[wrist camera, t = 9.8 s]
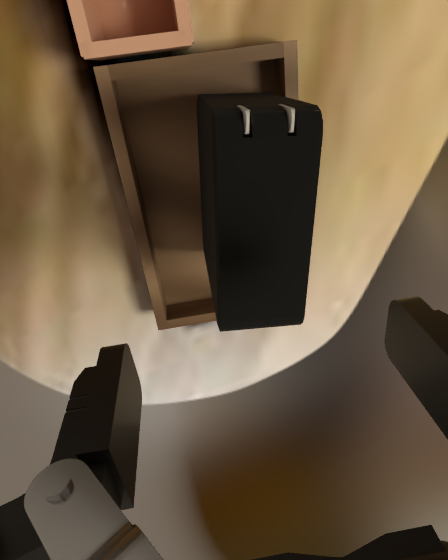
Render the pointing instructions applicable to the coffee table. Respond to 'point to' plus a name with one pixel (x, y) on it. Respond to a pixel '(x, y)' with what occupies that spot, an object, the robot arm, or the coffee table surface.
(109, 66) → the trough
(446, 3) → the coffee table surface
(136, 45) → the orange open cube box
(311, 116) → the electronic device
